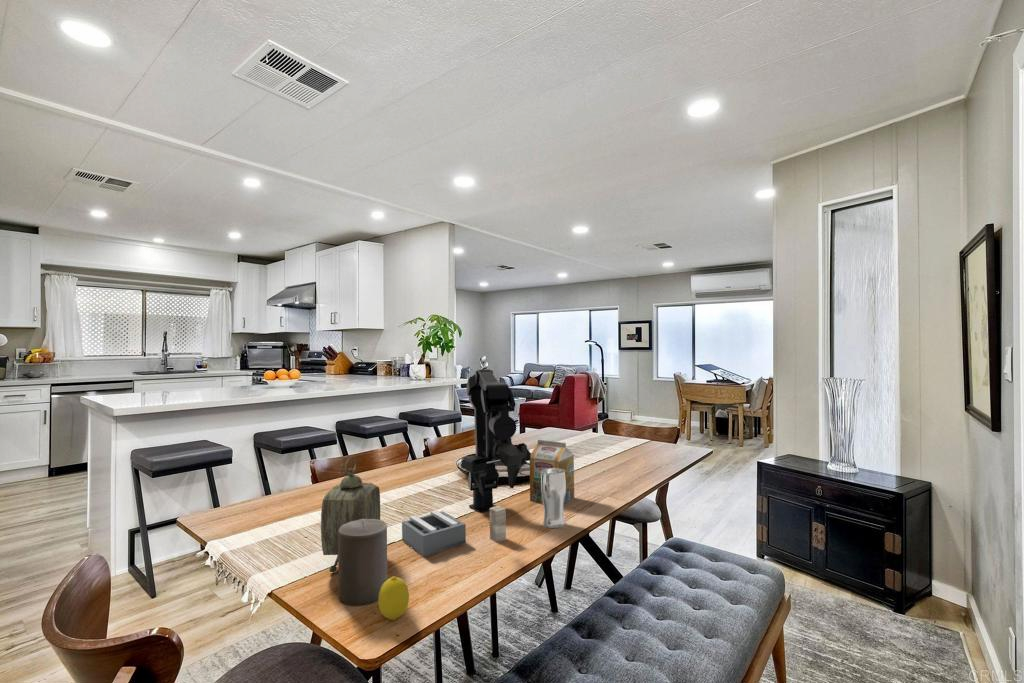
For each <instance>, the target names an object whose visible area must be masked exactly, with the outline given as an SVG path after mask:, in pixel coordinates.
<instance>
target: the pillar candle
mask: <svg viewBox="0 0 1024 683" xmlns="http://www.w3.org/2000/svg"><path fill="white" fill-rule="evenodd" d="M338 546H339V549H338V551H339V554H338V555H337V556H338V564H337V566H338V567H337V568H338V570H337V571H338V573H337V574H338V576H337V578H338V596H339V598H338V600H339V599H340V600H339V602H341V603H342V604H345V605H347V606H354V607H355V606H356V607H357V606H364V605H368V604H372V603H375V602H377V601H378V598H379V592H380V589H381V586H382V585H383V583H384V582H385V581H386V580H388V522H385V521H384V520H381V519H380V520H377V519H360V520H356V521H351V522H348V523H346V524H344V525H342V526H341V527H340V529H339V542H338Z"/></svg>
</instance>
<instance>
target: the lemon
mask: <svg viewBox="0 0 1024 683" xmlns="http://www.w3.org/2000/svg"><path fill="white" fill-rule="evenodd" d="M377 601H378V602H377V603H378V607H379V608H378V609H379V611H380V613H381V615H383V616H384V617H385V618H387V619H389V620H392V621H396V620H397V619H398V618H400V617H401V616H403V615H404V614H405V612H406V610H407V608H408V606H409V603H410V602H409V601H410V592H409V588H408V585H407V583H406V582H405V580H404V579H402V578H400V577H396V575H394V576H391V577H390V578H387V580H386V581H385V582H384V583H383V585H382V586H381V589H380V592H379V598H378V600H377Z"/></svg>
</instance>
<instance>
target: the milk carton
mask: <svg viewBox="0 0 1024 683" xmlns="http://www.w3.org/2000/svg"><path fill="white" fill-rule="evenodd" d="M530 453H531V460H529V500H530V501H529V502H532V501H533V502H534V503H537V502H538V503H537V504H542V503H543V499H542V492H541V475H542V470H543V469H547V468H559V469H563V470H564V471H565V480H566V493H565V501H564V503H565V502H566V503H568V502H570V501H571V500H573V499H575V463H574V462H575V459H574V458H575V457H574V453H573V451H571V450H570V449H569V448H568V447H567V443H566V442H561V441H554V440H548V439H547V440H545V439H537V444H536V445H535V447H534V448H533V450H532V451H531V452H530ZM572 498H573V499H572ZM570 499H571V500H570ZM569 500H570V501H569ZM567 501H568V502H567ZM566 503H565V504H566Z"/></svg>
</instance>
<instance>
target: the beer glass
mask: <svg viewBox="0 0 1024 683" xmlns="http://www.w3.org/2000/svg"><path fill="white" fill-rule="evenodd" d="M541 492H542V499H543V504H542V505H543V510H544V516H543V521H542V524H543V526H544V527H545V528H548V529H560V528H563V527H565V525H566V522H565V517H564V507H565V504H564V501H565V493H566V480H565V471H564V470H563V469H559V468H547V469H543V470H542V475H541Z"/></svg>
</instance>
